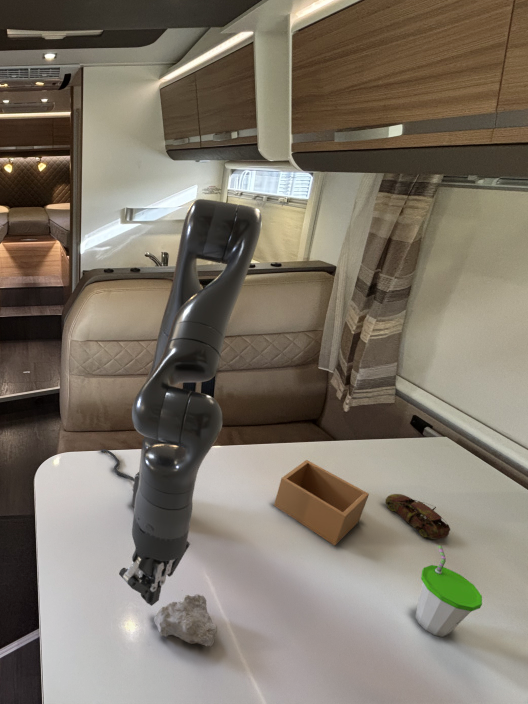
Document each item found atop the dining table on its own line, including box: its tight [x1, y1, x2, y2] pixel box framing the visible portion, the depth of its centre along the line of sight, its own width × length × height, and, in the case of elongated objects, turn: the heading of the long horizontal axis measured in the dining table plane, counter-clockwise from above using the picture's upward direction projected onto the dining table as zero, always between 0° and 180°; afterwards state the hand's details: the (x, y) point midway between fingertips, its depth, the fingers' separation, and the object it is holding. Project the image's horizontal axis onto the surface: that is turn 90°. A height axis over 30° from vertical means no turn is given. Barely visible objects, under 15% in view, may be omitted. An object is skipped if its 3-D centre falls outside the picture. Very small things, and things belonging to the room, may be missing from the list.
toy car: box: [384, 493, 451, 540], centre depth 99 cm, size 12×7×5 cm, turn 10°
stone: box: [153, 593, 218, 647], centre depth 76 cm, size 8×10×6 cm
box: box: [273, 459, 370, 546], centre depth 100 cm, size 12×14×9 cm
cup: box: [414, 545, 483, 638], centre depth 75 cm, size 8×8×15 cm
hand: (149, 598), depth 66 cm, fingers closed
